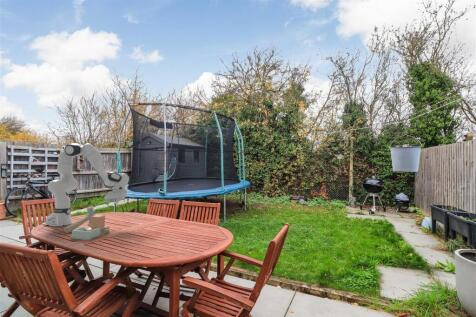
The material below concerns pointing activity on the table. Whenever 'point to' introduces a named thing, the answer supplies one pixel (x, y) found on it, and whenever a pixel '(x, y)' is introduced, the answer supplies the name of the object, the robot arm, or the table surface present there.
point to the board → (102, 230)
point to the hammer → (80, 221)
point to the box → (85, 234)
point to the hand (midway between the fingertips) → (111, 204)
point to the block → (98, 221)
